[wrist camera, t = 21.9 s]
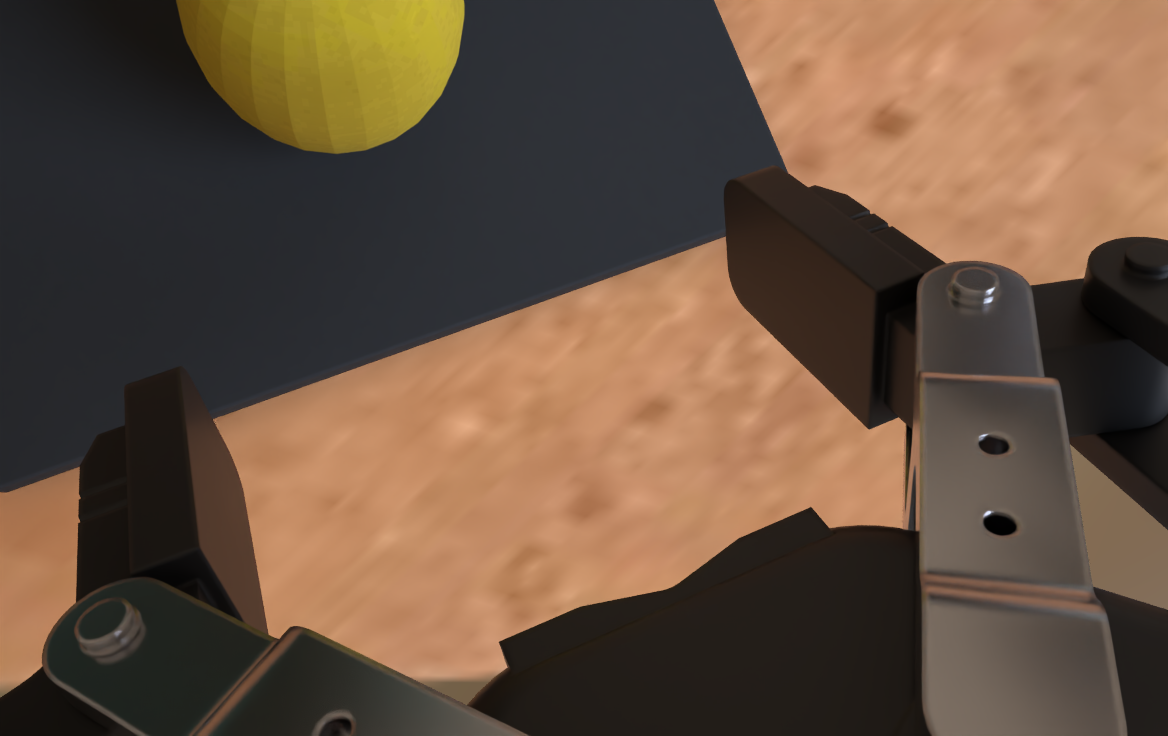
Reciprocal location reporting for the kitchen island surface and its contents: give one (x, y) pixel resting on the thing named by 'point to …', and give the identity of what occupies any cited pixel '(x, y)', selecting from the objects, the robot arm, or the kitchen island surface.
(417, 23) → the lemon
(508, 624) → the kitchen island surface
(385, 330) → the mat
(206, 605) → the robot arm
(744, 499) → the kitchen island surface
